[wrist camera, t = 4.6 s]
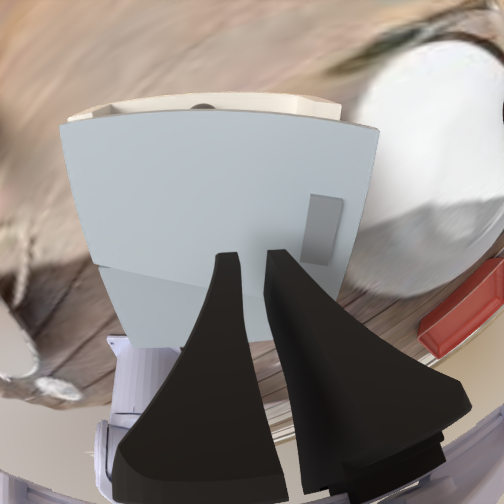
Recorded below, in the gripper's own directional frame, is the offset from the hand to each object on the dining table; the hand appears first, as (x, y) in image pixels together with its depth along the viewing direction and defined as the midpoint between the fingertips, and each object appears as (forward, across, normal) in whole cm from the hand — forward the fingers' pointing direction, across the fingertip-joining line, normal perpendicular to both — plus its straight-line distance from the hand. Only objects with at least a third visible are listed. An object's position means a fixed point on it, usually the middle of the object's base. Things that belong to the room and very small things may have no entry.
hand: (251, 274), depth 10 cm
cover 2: (+6, +2, +8) cm, 11 cm away
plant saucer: (+11, -38, +21) cm, 44 cm away
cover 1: (+4, +2, -1) cm, 5 cm away
